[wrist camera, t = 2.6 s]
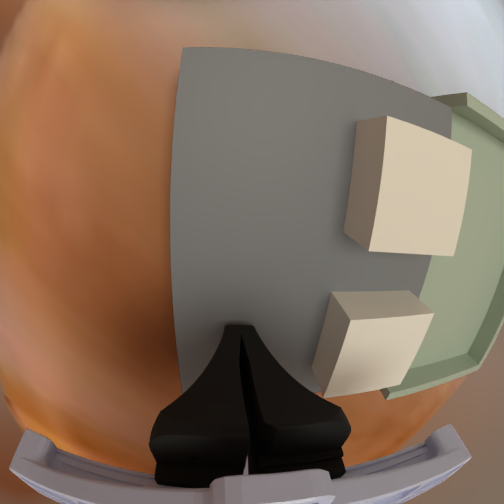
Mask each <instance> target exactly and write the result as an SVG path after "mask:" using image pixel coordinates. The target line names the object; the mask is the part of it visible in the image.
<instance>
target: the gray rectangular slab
mask: <svg viewBox="0 0 504 504" xmlns="http://www.w3.org/2000/svg"><path fill="white" fill-rule="evenodd" d="M382 116H390V117H393V118H396V119H399V120H402V121H405V122H408V123H410V124H413V125H416V126H419V127H421V128H424V129H426V130H429V131H431V132H434V133H436V134H439V135H441V136H443V137H446V138H448V139H450V140H451V130H452V108H451V107H449V106H447V105H445V104H443V103H441V102H439V101H437V100H435V99H433V98H431V97H429V96H426V95H424V94H422V93H420V92H417V91H415V90H413V89H410V88H408V87H406V86H403V85H400V84H398V83H395V82H393V81H390V80H387V79H384V78H382V77H379V76H376V75H373V74H370V73H367V72H363V71H360V70H357V69H353V68H350V67H346V66H342V65H339V64H335V63H331V62H326V61H322V60H317V59H313V58H308V57H303V56H297V55H291V54H285V53H278V52H270V51H262V50H252V49H239V48H218V47H187V48H183V50H182V57H181V64H180V71H179V79H178V87H177V96H176V106H175V116H174V128H173V142H172V160H171V186H170V254H171V280H172V298H173V313H174V325H175V336H176V346H177V356H178V364H179V372H180V380H181V387H182V394H183V393H184V392H185V391H186V390H187V389H188V388H189V387H190V386H191V385H192V384H193V383H194V382H195V381H196V380H197V378H198V377H199V376H200V375H201V373H202V372H203V371H204V369H205V368H206V366H207V365H208V363H209V362H210V360H211V358H212V357H213V355H214V353H215V351H216V349H217V347H218V345H219V343H220V341H221V338H222V335H223V332H224V326H225V325H227V324H229V325H253V326H254V327H255V329H256V331H257V333H258V335H259V336H260V338H261V340H262V341H263V343H264V344H265V346H266V347H267V349H268V350H269V351H270V353H271V354H272V355H273V357H274V358H275V359H276V360H277V361H278V363H279V364H280V365H281V366H282V367H283V368H284V369H285V370H286V371H287V372H288V373H289V374H290V375H291V376H292V377H293V378H294V379H295V380H297V381H298V382H299V383H300V384H302V385H303V386H304V387H306V388H307V389H308V390H310V391H311V392H313V393H316V392H321V391H320V388H319V385H318V383H317V380H316V377H315V374H314V372H313V369H312V364H313V360H314V357H315V353H316V350H317V346H318V343H319V339H320V335H321V332H322V328H323V324H324V320H325V316H326V312H327V308H328V304H329V299H330V295H331V292H354V291H405V290H410V291H411V292H412V293H413V294H414V295H415V296H416V297H417V298H419V296H420V293H421V290H422V287H423V284H424V281H425V278H426V275H427V271H428V268H429V265H430V261H431V257H432V255H423V254H407V253H390V252H373V251H368V250H366V249H365V248H364V247H362V246H361V245H360V244H359V243H357V242H356V241H355V240H353V239H352V238H351V237H349V236H348V235H347V234H345V233H344V232H343V230H344V224H345V218H346V211H347V205H348V198H349V191H350V183H351V175H352V167H353V158H354V148H355V137H356V124H357V121H359V120H364V119H370V118H376V117H382Z"/></svg>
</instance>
